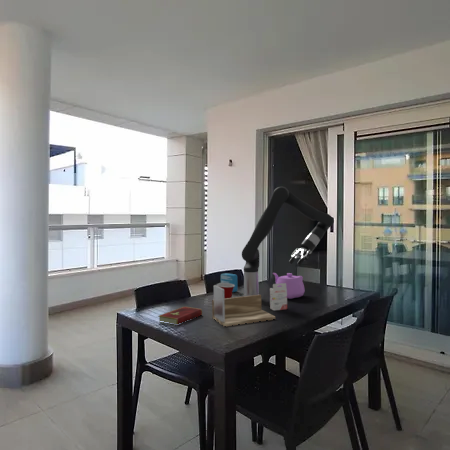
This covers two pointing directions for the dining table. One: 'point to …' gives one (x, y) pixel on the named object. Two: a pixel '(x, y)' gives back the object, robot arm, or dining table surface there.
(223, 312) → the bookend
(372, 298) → the dining table surface
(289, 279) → the teapot
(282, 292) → the ink cartridge box
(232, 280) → the data package
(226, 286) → the plastic cup
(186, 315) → the hardcover book
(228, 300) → the shelf board
